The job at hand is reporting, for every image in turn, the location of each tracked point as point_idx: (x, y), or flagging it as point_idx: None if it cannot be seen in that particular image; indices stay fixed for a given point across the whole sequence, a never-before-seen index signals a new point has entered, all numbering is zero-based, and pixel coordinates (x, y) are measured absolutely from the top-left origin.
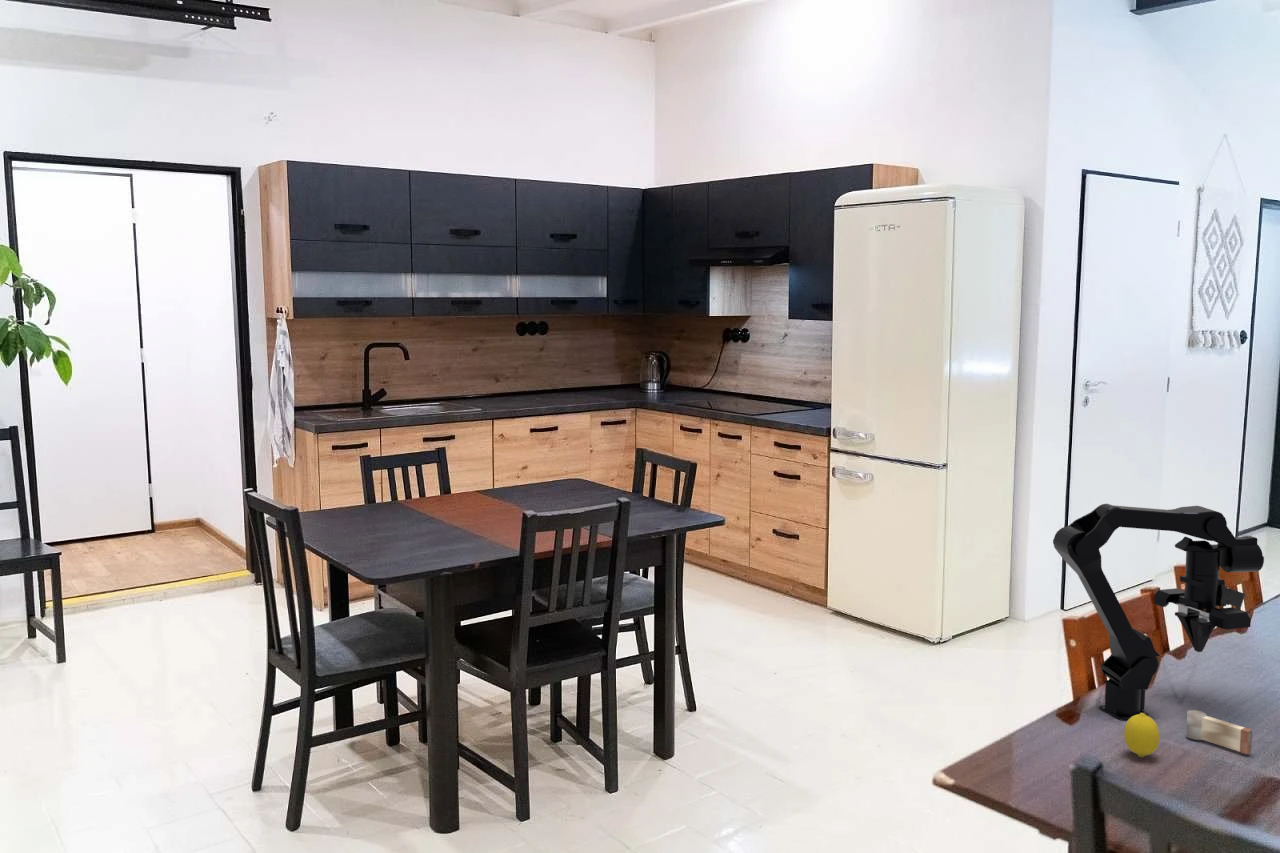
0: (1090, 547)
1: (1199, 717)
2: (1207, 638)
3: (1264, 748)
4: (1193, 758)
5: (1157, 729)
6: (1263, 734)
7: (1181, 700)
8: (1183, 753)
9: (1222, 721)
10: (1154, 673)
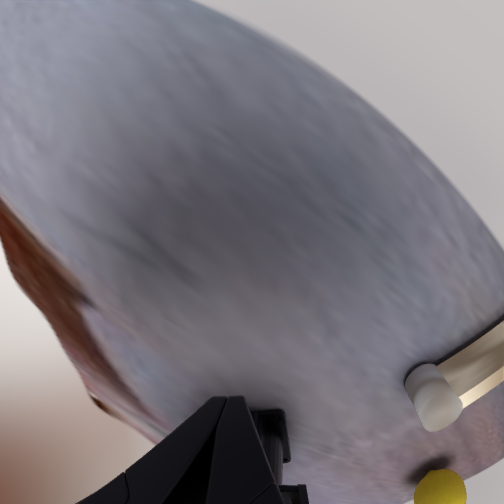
0: None
1: (457, 414)
2: (270, 474)
3: (500, 257)
4: (471, 412)
5: (465, 494)
6: (447, 195)
7: (171, 260)
8: None
9: (494, 375)
10: (290, 500)
